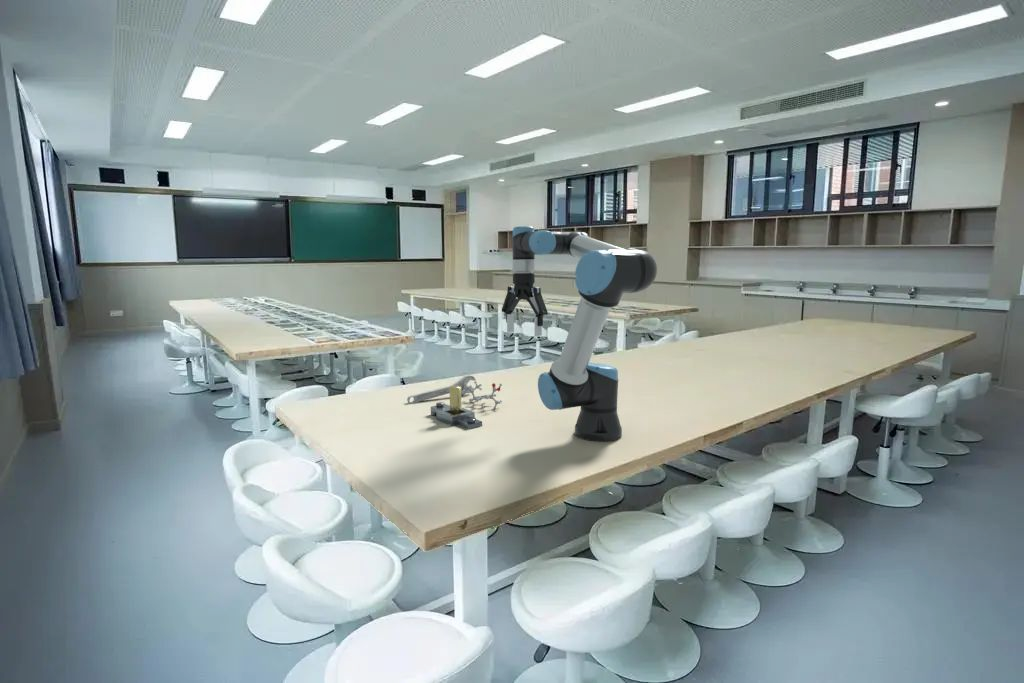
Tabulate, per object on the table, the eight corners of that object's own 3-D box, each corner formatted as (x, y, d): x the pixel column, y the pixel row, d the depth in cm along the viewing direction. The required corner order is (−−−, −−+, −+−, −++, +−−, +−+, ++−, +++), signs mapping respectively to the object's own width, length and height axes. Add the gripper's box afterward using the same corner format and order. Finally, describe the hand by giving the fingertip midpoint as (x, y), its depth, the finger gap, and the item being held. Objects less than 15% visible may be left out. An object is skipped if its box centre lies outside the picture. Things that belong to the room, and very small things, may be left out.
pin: (463, 420, 194) (463, 387, 192) (454, 422, 192) (453, 388, 190) (457, 417, 197) (456, 384, 195) (447, 419, 195) (447, 386, 193)
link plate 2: (486, 424, 189) (486, 417, 189) (463, 430, 183) (463, 423, 183) (458, 414, 201) (458, 407, 201) (436, 419, 195) (436, 412, 195)
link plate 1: (474, 420, 194) (474, 409, 193) (452, 425, 188) (452, 414, 187) (448, 410, 206) (448, 400, 205) (426, 415, 200) (426, 404, 199)
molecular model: (458, 402, 218) (458, 377, 218) (480, 400, 224) (481, 376, 223) (483, 412, 202) (483, 385, 202) (506, 409, 208) (507, 383, 207)
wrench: (408, 410, 218) (475, 391, 232) (410, 411, 216) (477, 392, 231) (405, 390, 216) (473, 373, 231) (407, 391, 214) (475, 374, 229)
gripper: (558, 272, 183) (558, 336, 186) (506, 272, 201) (507, 330, 204) (542, 272, 177) (542, 338, 180) (491, 272, 195) (492, 331, 198)
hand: (524, 334), depth 192 cm, fingers open, 13 cm apart
